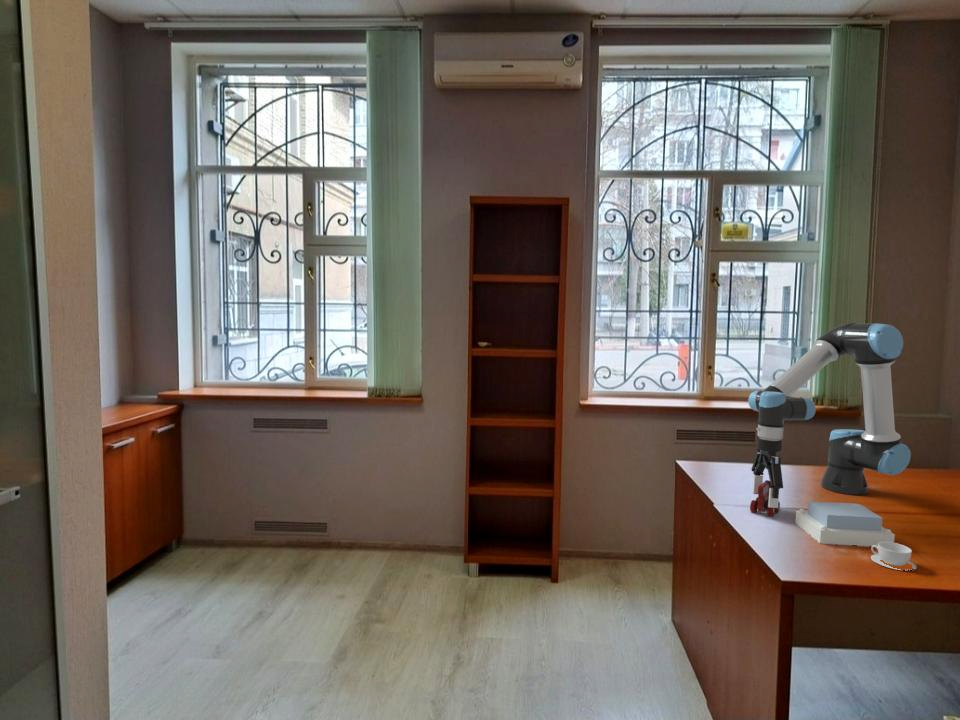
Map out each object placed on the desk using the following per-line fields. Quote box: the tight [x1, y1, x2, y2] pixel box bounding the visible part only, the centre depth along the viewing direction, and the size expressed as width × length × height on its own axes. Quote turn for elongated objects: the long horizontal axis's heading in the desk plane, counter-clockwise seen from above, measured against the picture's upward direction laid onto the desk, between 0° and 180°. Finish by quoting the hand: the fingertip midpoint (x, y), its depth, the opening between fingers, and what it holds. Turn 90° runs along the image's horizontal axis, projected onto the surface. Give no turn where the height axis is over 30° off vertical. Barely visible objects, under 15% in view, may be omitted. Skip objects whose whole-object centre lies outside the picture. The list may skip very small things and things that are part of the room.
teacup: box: [870, 542, 917, 572], centre depth 151 cm, size 10×10×5 cm
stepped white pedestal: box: [795, 500, 896, 547], centre depth 170 cm, size 20×16×8 cm
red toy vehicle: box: [749, 479, 781, 518], centre depth 188 cm, size 7×12×10 cm, turn 137°
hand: (764, 500), depth 188 cm, fingers open, 13 cm apart
